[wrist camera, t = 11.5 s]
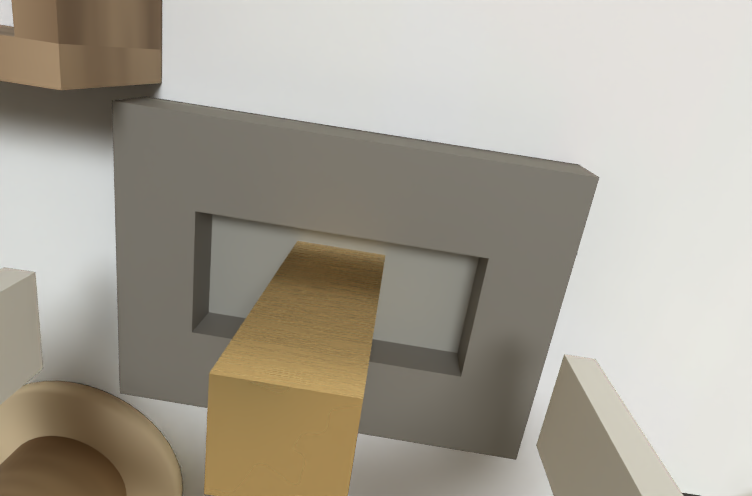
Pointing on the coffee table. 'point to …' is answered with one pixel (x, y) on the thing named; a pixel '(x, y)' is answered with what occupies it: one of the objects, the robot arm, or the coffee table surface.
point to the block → (295, 379)
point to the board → (350, 231)
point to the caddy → (82, 43)
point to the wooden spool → (81, 445)
